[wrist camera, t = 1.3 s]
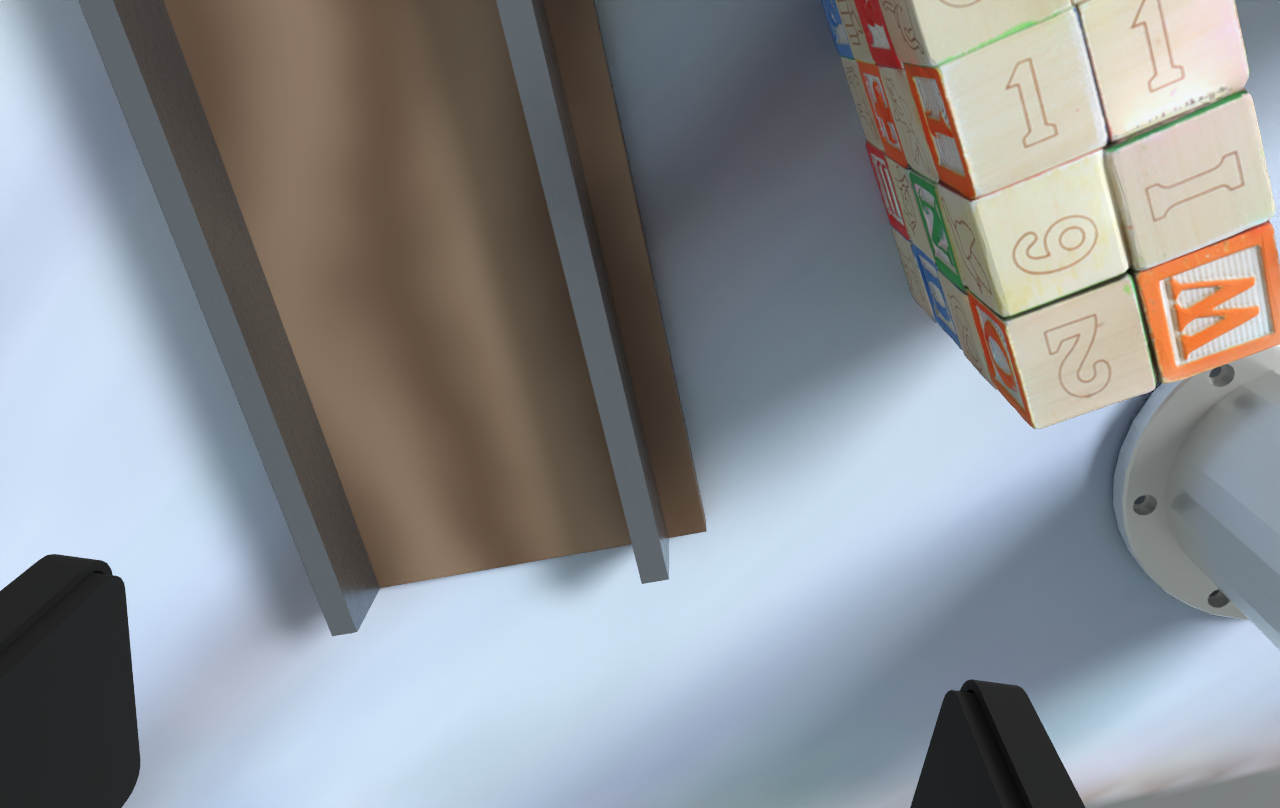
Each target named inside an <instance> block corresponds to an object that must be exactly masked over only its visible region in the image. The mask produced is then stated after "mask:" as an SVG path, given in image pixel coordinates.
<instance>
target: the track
mask: <svg viewBox="0 0 1280 808" xmlns="http://www.w3.org/2000/svg"><path fill="white" fill-rule="evenodd" d="M79 3H80V5H81V8H82V10H83V13H84V15H85V18H86V20H87V23H88V25H89V28H90V30H91V33H92V35H93V38H94V40H95V43H96V45H97V48H98V50H99V53H100V55H101V58H102V60H103V63H104V65H105V68H106V70H107V73H108V75H109V78H110V81H111V83H112V86H113V88H114V91H115V93H116V96H117V98H118V101H119V103H120V106H121V108H122V111H123V113H124V116H125V118H126V121H127V123H128V126H129V128H130V131H131V133H132V136H133V138H134V141H135V143H136V146H137V148H138V151H139V153H140V156H141V158H142V161H143V163H144V166H145V168H146V171H147V173H148V176H149V178H150V181H151V183H152V186H153V188H154V191H155V193H156V196H157V198H158V201H159V203H160V206H161V208H162V211H163V213H164V216H165V218H166V221H167V223H168V226H169V228H170V231H171V233H172V236H173V238H174V241H175V243H176V246H177V248H178V251H179V253H180V256H181V258H182V261H183V263H184V266H185V268H186V271H187V273H188V276H189V278H190V281H191V283H192V286H193V288H194V291H195V293H196V296H197V298H198V301H199V304H200V306H201V309H202V311H203V314H204V316H205V319H206V321H207V324H208V326H209V329H210V331H211V334H212V336H213V339H214V341H215V344H216V346H217V349H218V351H219V354H220V356H221V359H222V361H223V364H224V366H225V369H226V371H227V374H228V376H229V379H230V381H231V384H232V386H233V389H234V391H235V394H236V396H237V399H238V401H239V404H240V406H241V409H242V411H243V414H244V416H245V419H246V421H247V424H248V426H249V429H250V431H251V434H252V436H253V439H254V441H255V444H256V446H257V449H258V451H259V454H260V456H261V459H262V461H263V464H264V466H265V469H266V471H267V474H268V476H269V479H270V481H271V484H272V486H273V489H274V491H275V494H276V496H277V499H278V501H279V504H280V506H281V509H282V511H283V514H284V516H285V519H286V521H287V524H288V526H289V529H290V532H291V534H292V537H293V539H294V542H295V544H296V547H297V549H298V552H299V554H300V557H301V559H302V562H303V564H304V567H305V569H306V572H307V574H308V577H309V579H310V582H311V584H312V587H313V589H314V592H315V594H316V597H317V599H318V602H319V604H320V607H321V609H322V612H323V614H324V617H325V619H326V622H327V624H328V627H329V629H330V632H331V634H332V636H336V635H342V634H348V633H354V632H357V631H358V629H359V628H360V626H361V624H362V622H363V620H364V618H365V616H366V614H367V612H368V610H369V608H370V607H371V605H372V603H373V601H374V599H375V597H376V595H377V593H378V591H379V589H380V588H383V587H389V586H395V585H401V584H406V583H412V582H418V581H424V580H429V579H435V578H441V577H447V576H452V575H458V574H464V573H470V572H475V571H481V570H487V569H493V568H498V567H504V566H510V565H516V564H521V563H527V562H533V561H539V560H545V559H550V558H556V557H562V556H568V555H573V554H579V553H585V552H591V551H596V550H602V549H608V548H614V547H619V546H625V545H631V544H632V546H633V550H634V554H635V558H636V562H637V566H638V570H639V574H640V578H641V582H642V584H644V583H650V582H656V581H662V580H668V579H669V538H671V537H677V536H683V535H688V534H694V533H700V532H706V519H705V514H704V510H703V505H702V500H701V496H700V491H699V486H698V482H697V477H696V472H695V468H694V463H693V458H692V454H691V449H690V444H689V440H688V435H687V430H686V426H685V421H684V417H683V412H682V407H681V403H680V398H679V393H678V389H677V384H676V379H675V375H674V370H673V365H672V361H671V356H670V351H669V347H668V342H667V337H666V333H665V328H664V323H663V319H662V314H661V310H660V305H659V300H658V296H657V291H656V286H655V282H654V277H653V272H652V268H651V263H650V258H649V254H648V249H647V244H646V240H645V235H644V230H643V226H642V221H641V216H640V212H639V207H638V203H637V198H636V193H635V189H634V184H633V179H632V175H631V170H630V165H629V161H628V156H627V151H626V147H625V142H624V137H623V133H622V128H621V123H620V119H619V114H618V109H617V105H616V100H615V96H614V91H613V86H612V82H611V77H610V72H609V68H608V63H607V58H606V54H605V49H604V44H603V40H602V35H601V30H600V26H599V21H598V16H597V12H596V7H595V2H594V0H79Z"/></svg>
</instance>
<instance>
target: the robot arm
mask: <svg viewBox="0 0 1280 808" xmlns="http://www.w3.org/2000/svg"><path fill="white" fill-rule="evenodd" d="M1113 506H1114V510H1115V515H1116V520H1117V524H1118V529H1119V532H1120V534H1121V536H1122V538H1123V540H1124V542H1125V544H1126V546H1127V548H1128V550H1129V552H1130V554H1131V555H1132V556H1133V557H1134V559H1135V560H1136V561H1137V562H1138V564H1139V565H1140V566H1141V567H1142V569H1143V570H1144V571H1145V572H1146V574H1147V575H1148V576H1149V577H1150V578H1151V579H1152V580H1154V581H1155V582H1156V583H1157V584H1158V585H1159V586H1160V587H1161V588H1162V589H1163V590H1164V591H1165V592H1166V593H1168V594H1170V595H1171V596H1173V597H1175V598H1176V599H1178V600H1180V601H1181V602H1183V603H1185V604H1186V605H1188V606H1190V607H1193V608H1195V609H1198V610H1201V611H1203V612H1206V613H1209V614H1212V615H1217V616H1223V617H1229V618H1235V619H1241V620H1250V621H1251V622H1252V623H1253V624H1254V625H1255V626H1256V627H1257V628H1258V629H1259V630H1260V631H1261V632H1262V633H1263V634H1264V635H1265V636H1266V637H1267V638H1268V639H1269V640H1270V641H1271V642H1272V643H1273V644H1274V645H1275V646H1276V647H1277V648H1278V649H1279V650H1280V345H1277V346H1274V347H1272V348H1269V349H1266V350H1264V351H1261V352H1258V353H1255V354H1253V355H1250V356H1247V357H1244V358H1242V359H1239V360H1236V361H1233V362H1231V363H1228V364H1225V365H1222V366H1219V367H1217V368H1214V369H1211V370H1208V371H1205V372H1202V373H1200V374H1197V375H1194V376H1191V377H1189V378H1186V379H1183V380H1179V381H1176V382H1171V383H1166V384H1163V383H1161V385H1160V386H1159V387H1158V388H1157V389H1156V390H1155V391H1154V392H1153V393H1152V394H1151V396H1150V397H1149V398H1148V400H1147V401H1146V403H1145V404H1144V406H1143V407H1142V409H1141V410H1140V412H1139V413H1138V414H1137V416H1136V417H1135V419H1134V420H1133V422H1132V425H1131V427H1130V429H1129V431H1128V433H1127V436H1126V438H1125V440H1124V442H1123V444H1122V447H1121V449H1120V453H1119V457H1118V462H1117V466H1116V470H1115V474H1114V493H1113ZM139 770H140V751H139V740H138V729H137V718H136V706H135V695H134V684H133V672H132V661H131V650H130V639H129V627H128V616H127V605H126V593H125V586H124V582H123V581H122V579H121V578H120V577H118V576H113V575H112V571H111V568H110V567H109V565H108V564H107V563H105V562H103V561H101V560H93V559H86V558H79V557H71V556H64V555H57V554H53V555H47V556H45V557H43V558H42V559H40V560H39V561H37V562H36V563H35V564H34V565H32V566H31V567H30V568H29V569H27V570H26V571H25V572H24V573H22V574H21V575H20V576H19V577H17V578H16V579H15V580H14V581H12V582H11V583H10V584H9V585H7V586H6V587H5V588H4V589H2V590H1V591H0V808H121V807H122V806H123V805H124V803H125V802H126V801H127V799H128V798H129V796H130V795H131V793H132V791H133V789H134V787H135V785H136V782H137V779H138V775H139ZM910 808H1085V806H1084V804H1083V802H1082V800H1081V798H1080V796H1079V794H1078V792H1077V790H1076V789H1075V787H1074V785H1073V783H1072V781H1071V779H1070V777H1069V775H1068V773H1067V771H1066V769H1065V767H1064V765H1063V763H1062V761H1061V760H1060V758H1059V756H1058V754H1057V752H1056V750H1055V748H1054V746H1053V744H1052V742H1051V740H1050V738H1049V736H1048V734H1047V732H1046V730H1045V729H1044V727H1043V725H1042V723H1041V721H1040V719H1039V717H1038V715H1037V713H1036V711H1035V709H1034V707H1033V705H1032V703H1031V701H1030V699H1029V698H1028V696H1027V694H1026V693H1025V691H1024V690H1023V688H1021V687H1019V686H1015V685H1008V684H1000V683H993V682H986V681H978V680H968V681H966V682H965V683H964V684H963V686H962V688H961V690H960V691H954V690H950V691H948V692H947V694H946V695H945V697H944V700H943V703H942V706H941V709H940V713H939V716H938V719H937V722H936V726H935V729H934V732H933V735H932V739H931V742H930V745H929V749H928V752H927V755H926V758H925V762H924V765H923V768H922V771H921V775H920V778H919V781H918V785H917V788H916V791H915V794H914V798H913V801H912V804H911V807H910Z"/></svg>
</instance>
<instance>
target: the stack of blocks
mask: <svg viewBox="0 0 1280 808" xmlns="http://www.w3.org/2000/svg"><path fill="white" fill-rule="evenodd" d="M821 1H822V4H823V7H824V10H825V13H826V17H827V20H828V23H829V26H830V30H831V33H832V36H833V39H834V42H835V45H836V48H837V50H838V52H839V54H840V57H841V62H842V65H843V68H844V72H845V75H846V78H847V81H848V84H849V87H850V90H851V94H852V97H853V100H854V103H855V106H856V109H857V112H858V115H859V119H860V122H861V125H862V128H863V131H864V134H865V136H866V147H867V150H868V153H869V157H870V160H871V164H872V167H873V170H874V173H875V176H876V179H877V182H878V185H879V189H880V192H881V195H882V198H883V202H884V205H885V208H886V211H887V214H888V217H889V220H890V224H891V228H892V233H893V236H894V239H895V242H896V245H897V249H898V252H899V255H900V258H901V262H902V265H903V268H904V271H905V274H906V278H907V281H908V284H909V287H910V290H911V293H912V296H913V298H914V300H915V301H916V302H917V303H918V305H920V306H921V307H922V308H923V309H924V310H925V311H926V313H927V314H928V315H929V316H930V318H931V319H932V320H933V321H934V322H935V323H937V322H938V324H939V325H940V326H941V327H942V329H943V330H944V331H945V332H946V333H947V334H948V335H949V336H950V337H951V338H952V339H953V340H954V341H955V343H956V344H957V345H958V346H959V348H960V349H961V350H963V353H964V355H965V356H966V358H967V359H968V360H969V361H970V362H971V363H972V364H973V366H974V367H975V368H976V369H977V370H978V371H979V373H980V374H981V375H982V376H983V377H984V378H985V379H986V380H987V381H988V382H989V383H990V384H991V385H992V386H993V387H994V388H995V389H996V390H997V389H998V390H999V391H1000V393H1001V394H1002V395H1003V396H1004V397H1005V398H1006V400H1007V401H1008V402H1009V403H1010V404H1011V405H1012V406H1013V407H1014V408H1015V409H1016V410H1017V412H1018V413H1019V414H1020V415H1021V417H1022V418H1023V419H1024V420H1025V421H1026V422H1027V423H1028V424H1029V425H1030V426H1031V427H1033V428H1034V429H1042V428H1045V427H1048V426H1050V425H1053V424H1056V423H1059V422H1062V421H1064V420H1067V419H1070V418H1073V417H1076V416H1079V415H1082V414H1085V413H1088V412H1091V411H1094V410H1097V409H1100V408H1102V407H1105V406H1108V405H1111V404H1114V403H1117V402H1120V401H1124V400H1127V399H1130V398H1133V397H1136V396H1139V395H1142V394H1145V393H1149V392H1151V391H1153V390H1155V387H1156V383H1157V382H1161V383H1163V384H1166V383H1171V382H1176V381H1179V380H1183V379H1186V378H1189V377H1191V376H1194V375H1197V374H1200V373H1202V372H1205V371H1208V370H1211V369H1214V368H1217V367H1219V366H1222V365H1225V364H1228V363H1231V362H1233V361H1236V360H1239V359H1242V358H1244V357H1247V356H1250V355H1253V354H1255V353H1258V352H1261V351H1264V350H1266V349H1269V348H1272V347H1274V346H1277V345H1280V260H1279V256H1278V250H1277V245H1276V239H1275V234H1274V229H1273V226H1272V225H1271V223H1270V222H1269V220H1270V219H1271V218H1272V217H1273V216H1274V213H1275V209H1276V208H1275V204H1274V200H1273V196H1272V190H1271V184H1270V178H1269V174H1268V171H1267V166H1266V161H1265V156H1264V150H1263V145H1262V140H1261V135H1260V130H1259V126H1258V121H1257V117H1256V112H1255V108H1254V103H1253V99H1252V97H1251V95H1250V94H1249V93H1248V92H1247V91H1246V90H1245V88H1244V86H1245V84H1246V82H1247V80H1248V77H1249V73H1250V69H1249V66H1248V62H1247V54H1246V48H1245V44H1244V40H1243V37H1242V32H1241V27H1240V22H1239V16H1238V11H1237V7H1236V2H1235V0H821Z"/></svg>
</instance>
